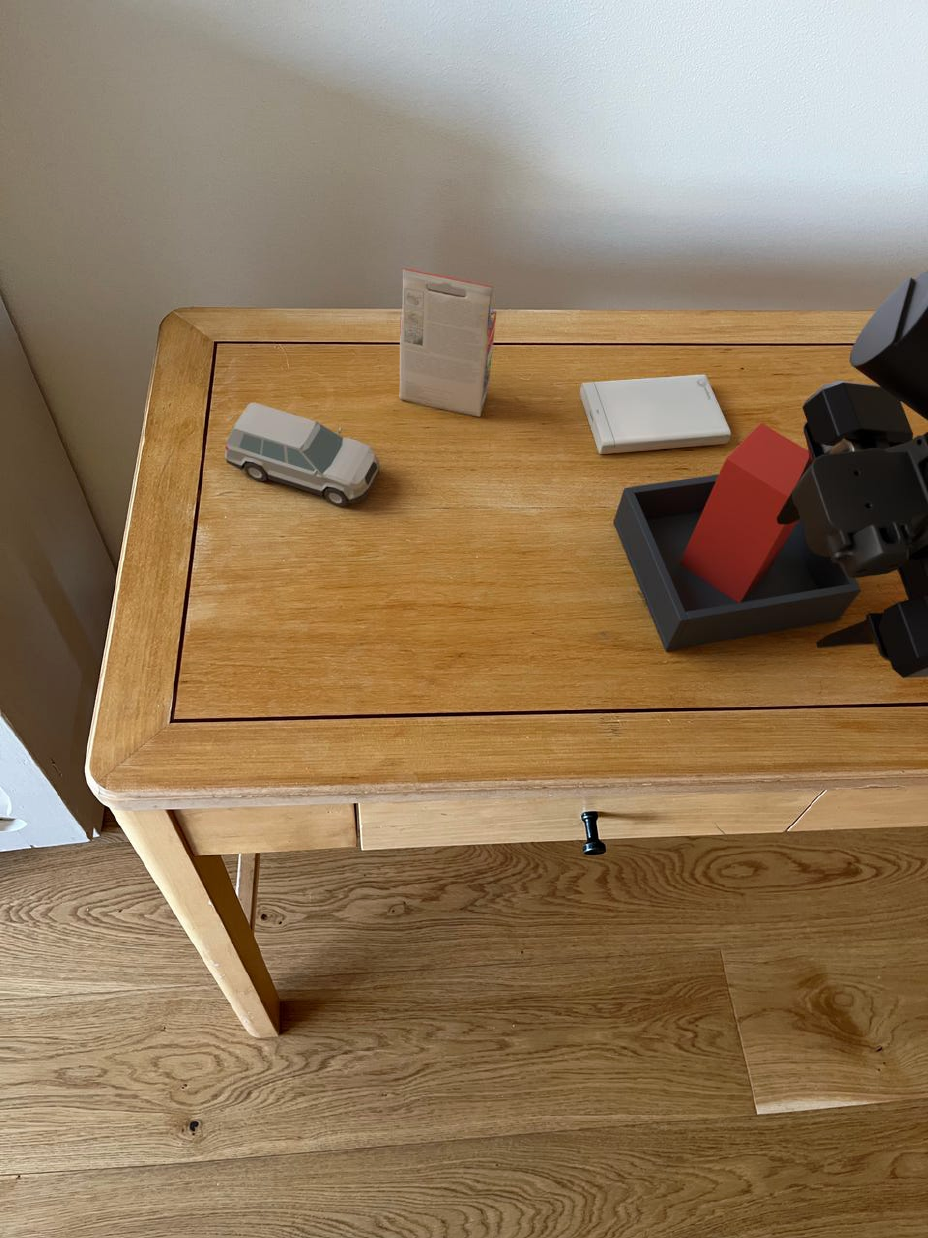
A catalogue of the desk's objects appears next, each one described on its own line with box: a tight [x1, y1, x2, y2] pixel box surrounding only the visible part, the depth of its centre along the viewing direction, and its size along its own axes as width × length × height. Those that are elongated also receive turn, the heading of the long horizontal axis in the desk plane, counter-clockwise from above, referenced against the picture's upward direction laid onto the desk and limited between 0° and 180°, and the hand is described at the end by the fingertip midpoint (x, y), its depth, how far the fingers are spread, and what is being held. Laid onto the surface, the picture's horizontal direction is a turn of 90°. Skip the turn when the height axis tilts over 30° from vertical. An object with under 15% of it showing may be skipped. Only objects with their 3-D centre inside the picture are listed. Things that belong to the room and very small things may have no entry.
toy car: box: [224, 401, 380, 507], centre depth 80 cm, size 6×13×5 cm, turn 71°
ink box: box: [399, 267, 497, 418], centre depth 82 cm, size 4×8×15 cm, turn 77°
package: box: [680, 422, 809, 603], centre depth 73 cm, size 6×5×13 cm
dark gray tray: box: [613, 473, 862, 652], centre depth 77 cm, size 15×13×5 cm
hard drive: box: [579, 373, 732, 455], centre depth 88 cm, size 2×8×12 cm
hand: (801, 582), depth 63 cm, fingers open, 9 cm apart
